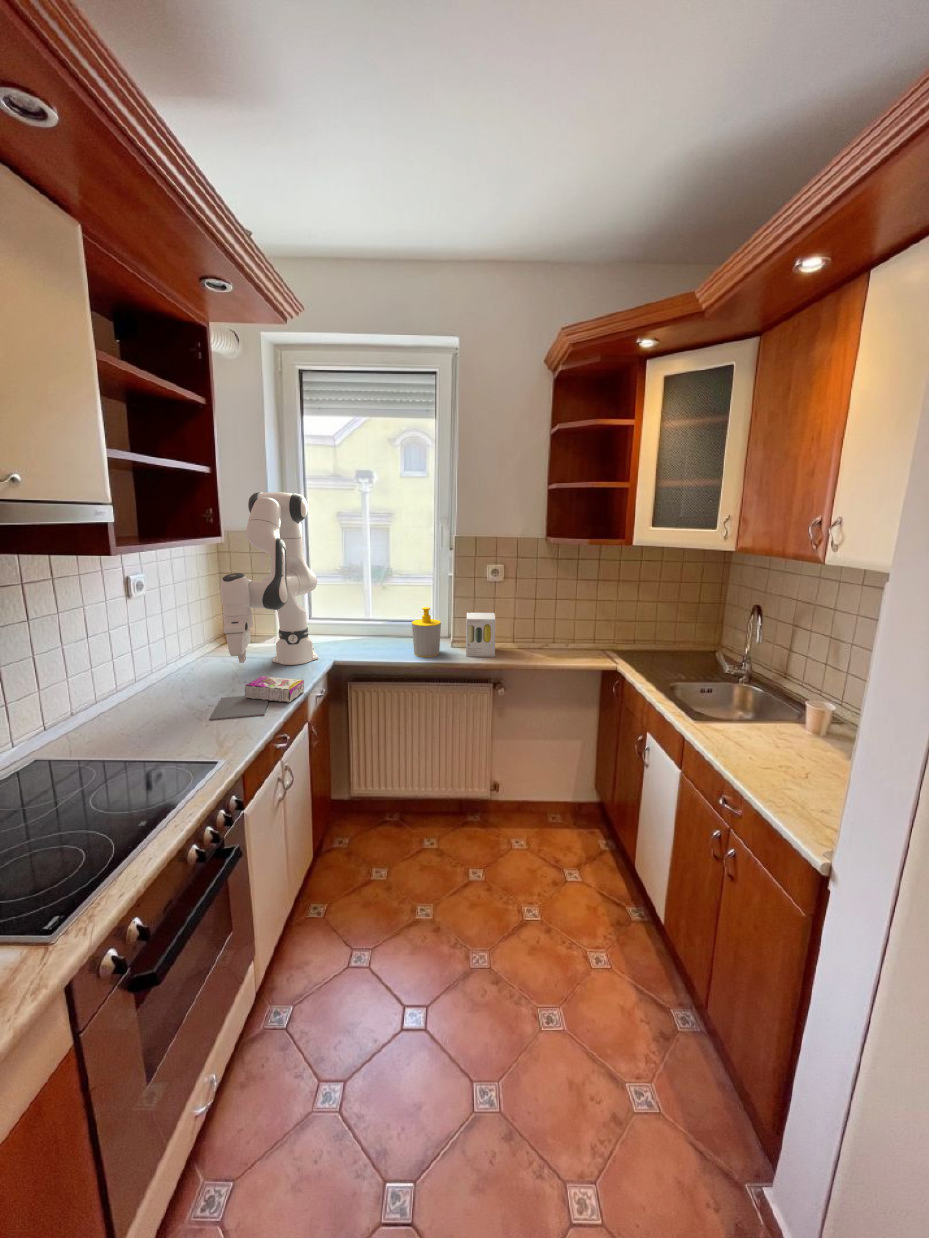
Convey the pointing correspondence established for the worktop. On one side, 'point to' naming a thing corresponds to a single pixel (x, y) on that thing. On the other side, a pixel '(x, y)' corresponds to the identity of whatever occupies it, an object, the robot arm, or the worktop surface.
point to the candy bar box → (274, 689)
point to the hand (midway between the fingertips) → (242, 661)
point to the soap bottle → (426, 635)
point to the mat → (239, 708)
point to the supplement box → (480, 634)
